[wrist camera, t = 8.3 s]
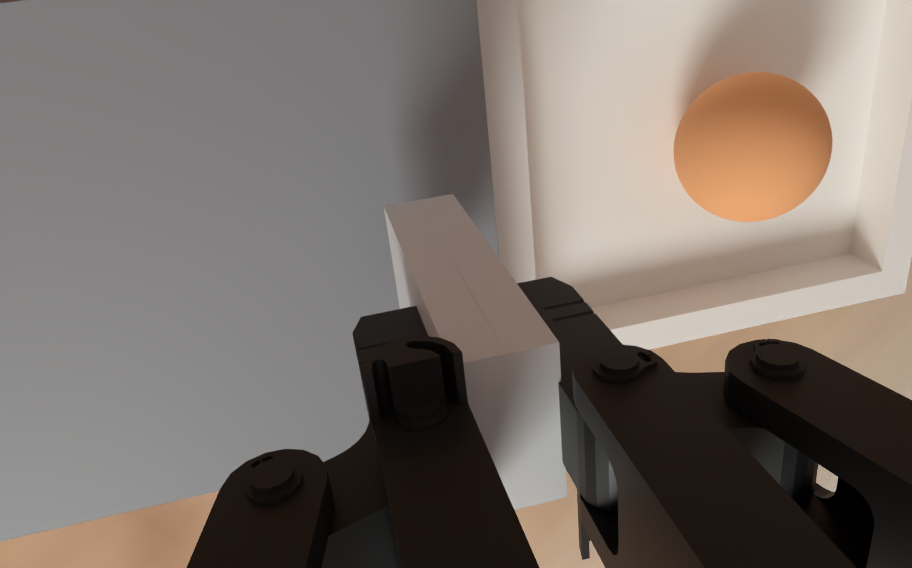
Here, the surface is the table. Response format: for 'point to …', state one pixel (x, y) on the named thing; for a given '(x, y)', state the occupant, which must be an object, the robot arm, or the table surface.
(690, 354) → the table surface
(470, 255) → the robot arm
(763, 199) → the ball
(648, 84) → the tray
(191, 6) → the deck
